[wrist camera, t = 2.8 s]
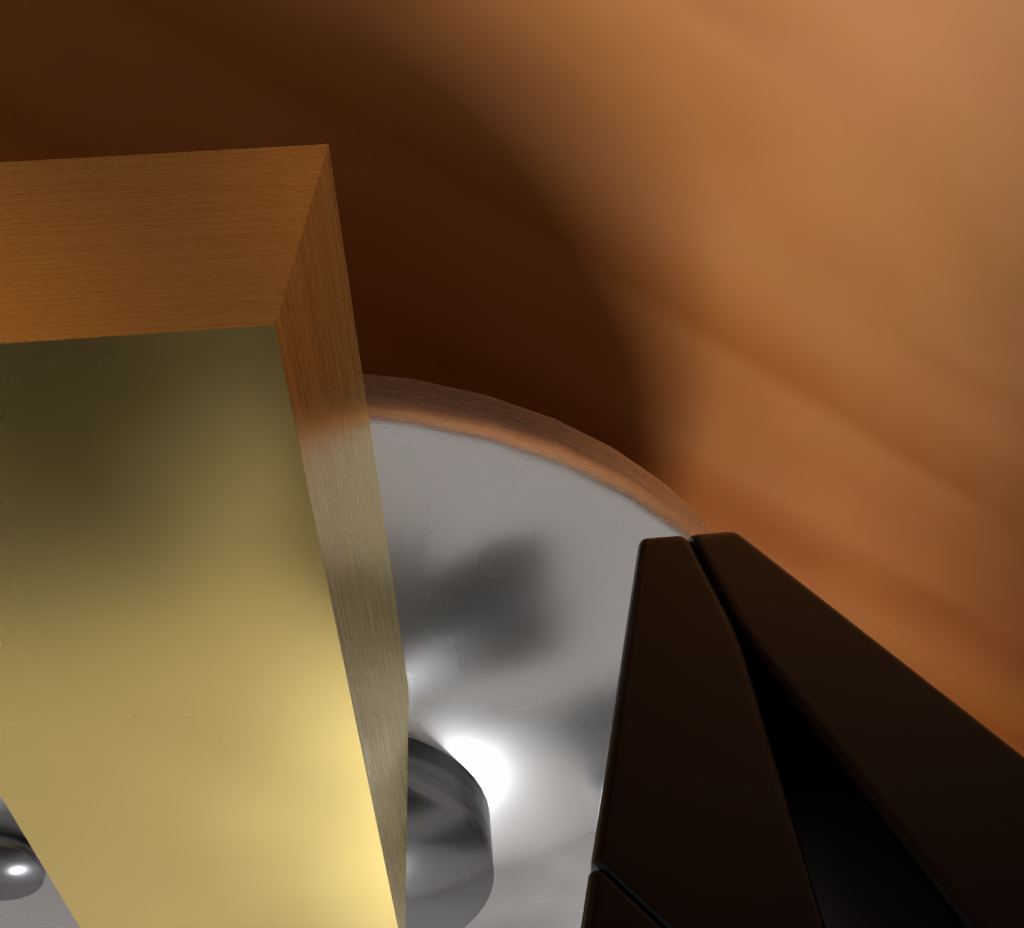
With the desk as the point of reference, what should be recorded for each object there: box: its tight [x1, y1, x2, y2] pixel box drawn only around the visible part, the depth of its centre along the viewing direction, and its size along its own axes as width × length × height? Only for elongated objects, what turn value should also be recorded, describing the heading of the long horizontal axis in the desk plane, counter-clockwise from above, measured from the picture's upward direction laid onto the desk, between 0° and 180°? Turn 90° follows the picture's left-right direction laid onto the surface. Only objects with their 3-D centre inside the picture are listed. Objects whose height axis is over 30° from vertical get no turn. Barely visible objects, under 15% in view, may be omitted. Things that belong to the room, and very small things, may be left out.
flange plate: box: [0, 144, 713, 928], centre depth 10 cm, size 14×12×4 cm
